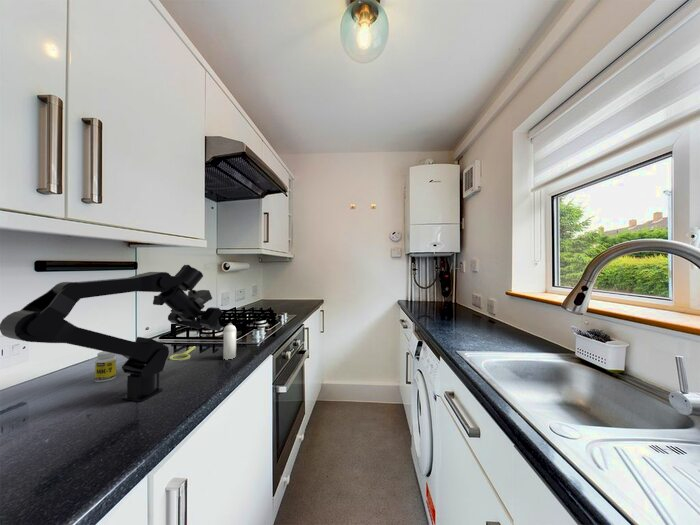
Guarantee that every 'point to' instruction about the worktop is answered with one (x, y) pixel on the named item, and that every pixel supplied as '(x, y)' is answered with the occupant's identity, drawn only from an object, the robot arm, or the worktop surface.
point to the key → (185, 354)
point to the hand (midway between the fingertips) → (209, 328)
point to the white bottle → (229, 342)
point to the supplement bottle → (105, 367)
